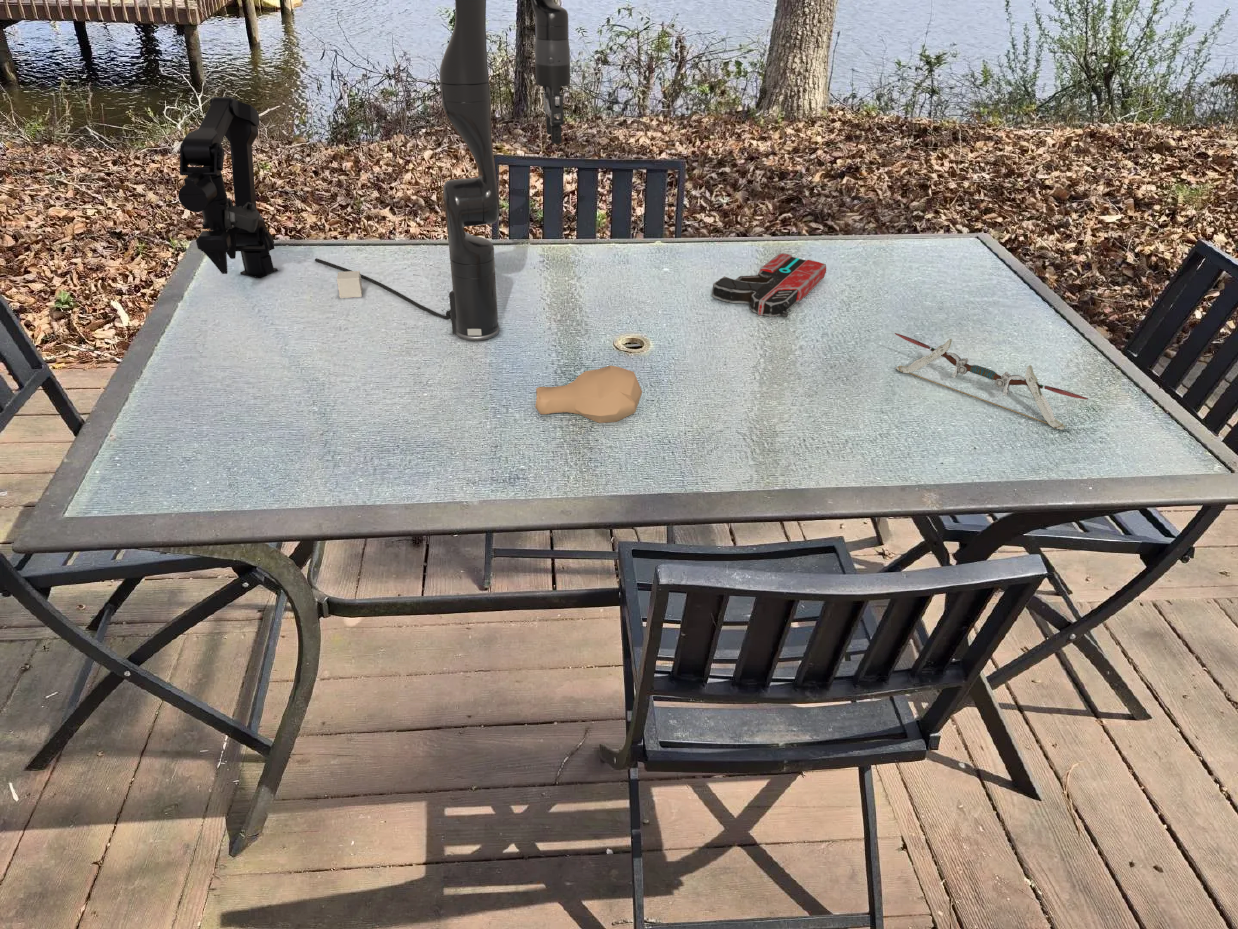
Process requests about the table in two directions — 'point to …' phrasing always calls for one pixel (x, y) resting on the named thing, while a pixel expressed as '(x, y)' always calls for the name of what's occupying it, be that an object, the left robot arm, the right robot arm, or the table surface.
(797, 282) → the gun
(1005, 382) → the bow
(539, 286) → the table surface
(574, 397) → the squash
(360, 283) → the beige cube
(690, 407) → the table surface
